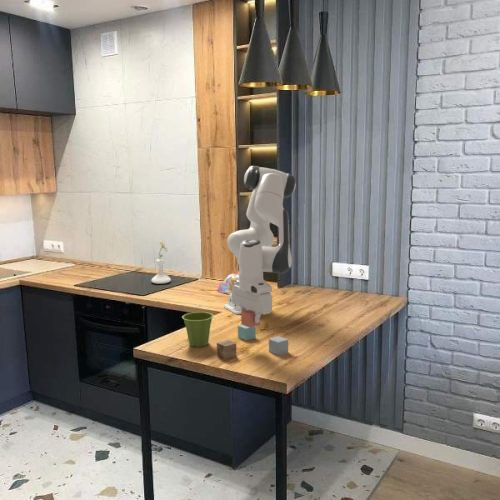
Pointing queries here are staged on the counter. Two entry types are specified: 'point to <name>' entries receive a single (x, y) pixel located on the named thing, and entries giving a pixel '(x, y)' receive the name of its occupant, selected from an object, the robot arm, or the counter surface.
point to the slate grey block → (278, 345)
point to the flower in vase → (161, 270)
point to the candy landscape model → (228, 283)
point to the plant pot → (198, 327)
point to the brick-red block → (248, 318)
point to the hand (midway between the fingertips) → (250, 320)
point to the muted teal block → (246, 332)
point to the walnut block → (226, 349)
